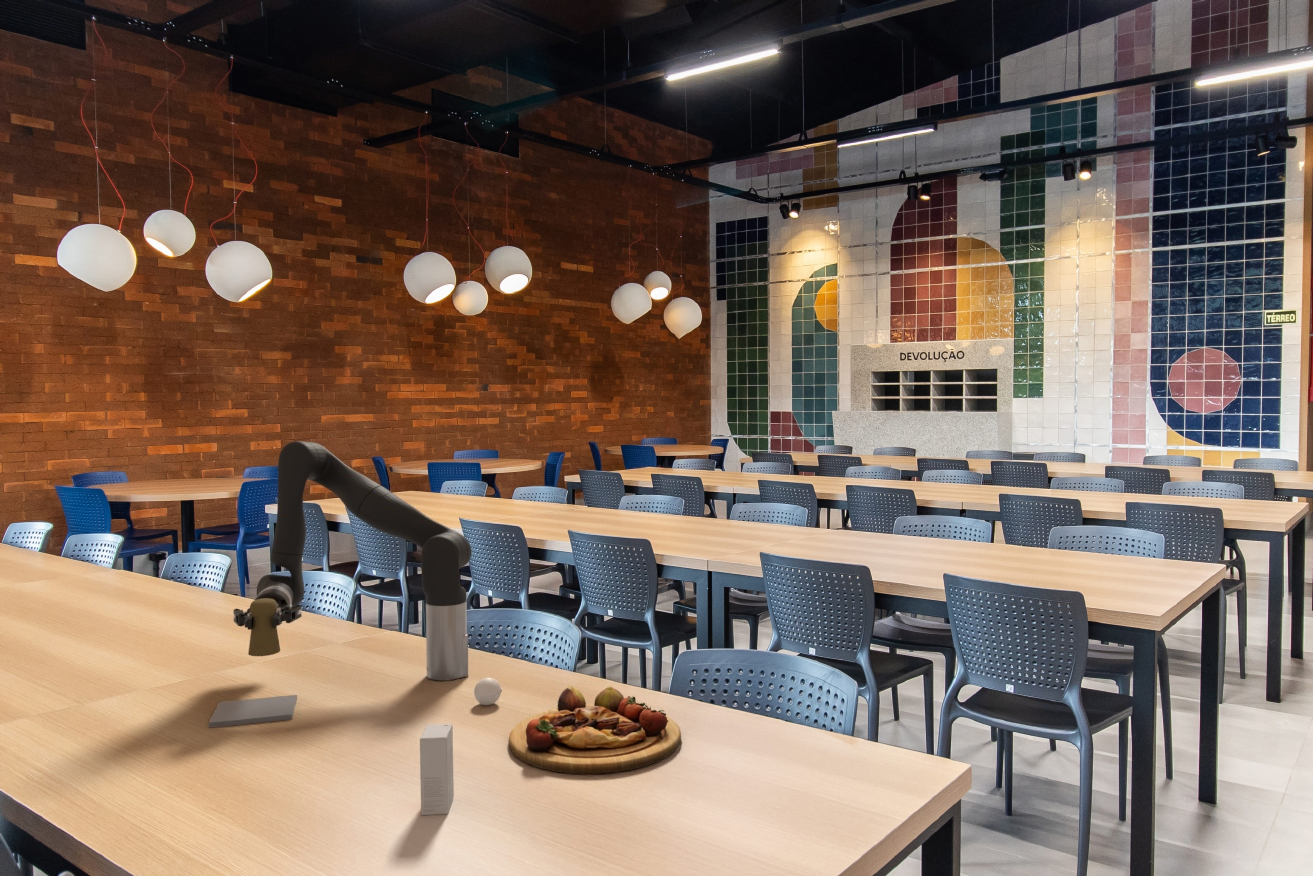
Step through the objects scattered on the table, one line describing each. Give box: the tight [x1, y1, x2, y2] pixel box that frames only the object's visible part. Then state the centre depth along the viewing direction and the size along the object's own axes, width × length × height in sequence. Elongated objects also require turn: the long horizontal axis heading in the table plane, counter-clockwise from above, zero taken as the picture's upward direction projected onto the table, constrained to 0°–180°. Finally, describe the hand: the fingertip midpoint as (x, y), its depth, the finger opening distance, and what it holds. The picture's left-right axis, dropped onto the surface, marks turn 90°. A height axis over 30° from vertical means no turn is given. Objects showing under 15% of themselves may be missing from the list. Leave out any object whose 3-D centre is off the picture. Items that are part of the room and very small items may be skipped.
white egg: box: [473, 677, 502, 706], centre depth 186 cm, size 8×6×6 cm
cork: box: [247, 598, 281, 657], centre depth 181 cm, size 6×6×11 cm
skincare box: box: [419, 723, 455, 816], centre depth 137 cm, size 6×4×12 cm
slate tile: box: [208, 694, 298, 728], centre depth 180 cm, size 15×13×1 cm
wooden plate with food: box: [508, 686, 682, 775], centre depth 164 cm, size 32×32×8 cm
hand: (261, 623), depth 178 cm, fingers closed on cork, 4 cm apart
